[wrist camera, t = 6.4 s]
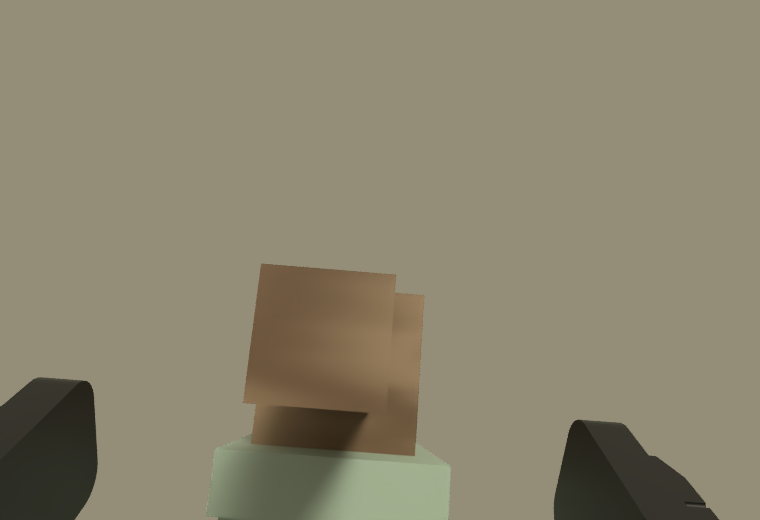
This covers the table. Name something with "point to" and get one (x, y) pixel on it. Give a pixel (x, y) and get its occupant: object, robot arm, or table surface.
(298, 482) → the stand
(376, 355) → the mallet
